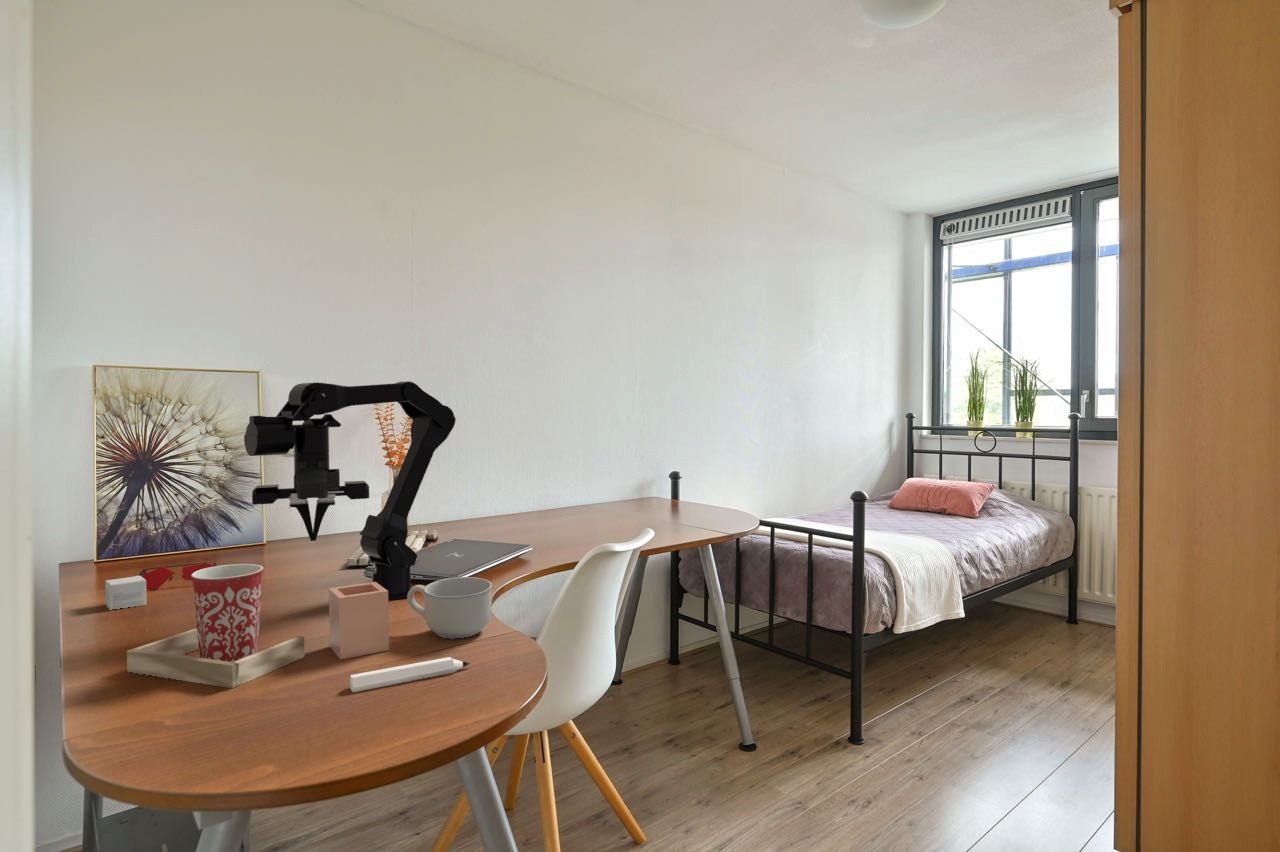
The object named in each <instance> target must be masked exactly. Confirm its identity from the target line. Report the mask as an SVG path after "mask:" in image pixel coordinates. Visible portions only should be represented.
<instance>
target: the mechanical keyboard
mask: <svg viewBox="0 0 1280 852" xmlns="http://www.w3.org/2000/svg"><path fill="white" fill-rule="evenodd" d="M438 535H439V534H438V532H437V530H436V529H433V530H429V531H427V529H425V530H423V531H420V532H419V531H418V530H415V531H411V532H410V531H408V535H407V539H406V543H405V544H406V545H407V546H408V547H409V548H411V549H412V550H413V551H414V552H415V553H416V552H417V551H419V550H421V549H422V548H425V547H428V546H430V545H433V544H436V545H437V542H438V541H439V537H438ZM375 564H376V563H371V562H370V559H369V556H368V555H367V554H365V552H364V551H363V549H362V547H361V545H360V546H359V547H358V548H357V549H356V550H355V551H354V552H353V553H352V554H351V556H349V557H348V558H347V568H346V570H366V569H365V568H366V567H368V566H373V565H375Z"/></svg>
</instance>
